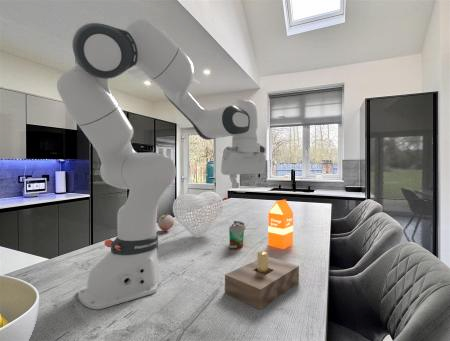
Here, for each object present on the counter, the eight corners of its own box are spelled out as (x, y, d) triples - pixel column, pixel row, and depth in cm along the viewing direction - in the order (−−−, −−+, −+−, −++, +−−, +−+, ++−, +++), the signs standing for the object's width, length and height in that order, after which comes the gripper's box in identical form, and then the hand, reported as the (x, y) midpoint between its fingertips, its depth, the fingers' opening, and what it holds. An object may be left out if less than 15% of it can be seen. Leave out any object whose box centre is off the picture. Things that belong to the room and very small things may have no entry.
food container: (243, 251, 102) (243, 227, 102) (229, 250, 104) (229, 226, 103) (247, 242, 114) (247, 221, 114) (233, 241, 116) (234, 220, 116)
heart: (187, 247, 107) (188, 196, 107) (165, 240, 117) (165, 193, 117) (229, 234, 128) (229, 191, 128) (207, 229, 138) (207, 189, 138)
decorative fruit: (171, 233, 129) (171, 214, 129) (156, 233, 129) (156, 214, 129) (175, 229, 138) (175, 211, 138) (161, 229, 138) (161, 211, 138)
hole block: (260, 309, 61) (260, 289, 61) (224, 292, 69) (224, 274, 69) (298, 282, 76) (298, 265, 75) (265, 270, 84) (265, 256, 84)
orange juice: (293, 244, 112) (293, 200, 112) (283, 249, 106) (283, 202, 105) (277, 240, 118) (278, 198, 117) (267, 245, 111) (268, 200, 111)
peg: (263, 291, 70) (264, 255, 70) (255, 287, 72) (255, 253, 72) (269, 287, 72) (270, 253, 72) (261, 283, 74) (261, 250, 74)
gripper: (230, 145, 78) (230, 189, 78) (268, 148, 92) (268, 186, 92) (216, 146, 82) (216, 188, 82) (255, 149, 97) (255, 185, 97)
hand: (244, 187), depth 87 cm, fingers open, 8 cm apart
